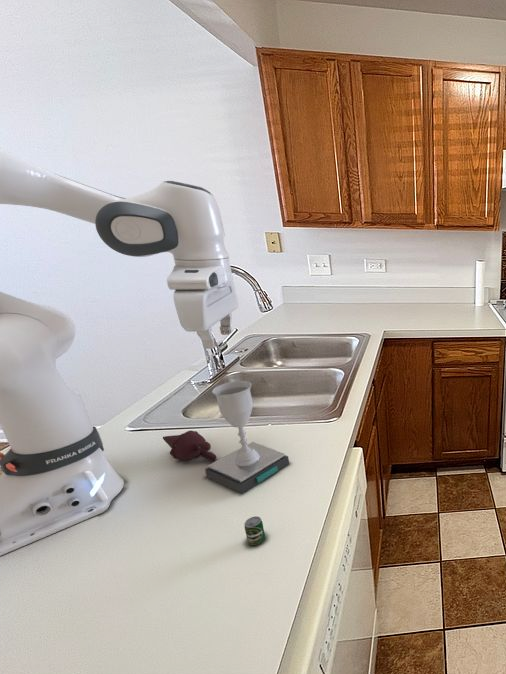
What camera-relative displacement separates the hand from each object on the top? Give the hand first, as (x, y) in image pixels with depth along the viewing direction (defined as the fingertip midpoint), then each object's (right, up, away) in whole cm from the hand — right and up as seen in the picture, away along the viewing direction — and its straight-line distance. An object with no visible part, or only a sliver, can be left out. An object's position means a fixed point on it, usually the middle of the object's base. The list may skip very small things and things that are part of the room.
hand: (219, 340), depth 82 cm
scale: (+1, -30, +9) cm, 31 cm away
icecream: (-16, -28, +14) cm, 35 cm away
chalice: (+1, -27, +8) cm, 28 cm away
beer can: (+13, -37, -9) cm, 41 cm away
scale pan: (+1, -28, +9) cm, 29 cm away
